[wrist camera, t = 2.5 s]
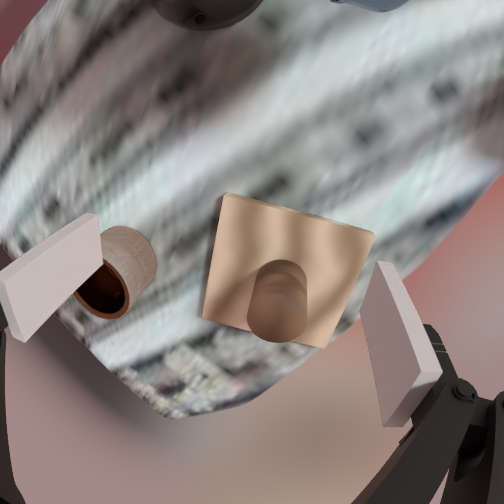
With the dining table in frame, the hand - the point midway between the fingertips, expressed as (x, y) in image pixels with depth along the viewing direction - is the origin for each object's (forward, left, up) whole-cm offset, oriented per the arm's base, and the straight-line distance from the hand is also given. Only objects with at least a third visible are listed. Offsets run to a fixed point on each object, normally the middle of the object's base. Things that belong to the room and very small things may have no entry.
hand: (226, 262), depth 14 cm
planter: (-4, -26, -27) cm, 38 cm away
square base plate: (+13, -9, -27) cm, 31 cm away
